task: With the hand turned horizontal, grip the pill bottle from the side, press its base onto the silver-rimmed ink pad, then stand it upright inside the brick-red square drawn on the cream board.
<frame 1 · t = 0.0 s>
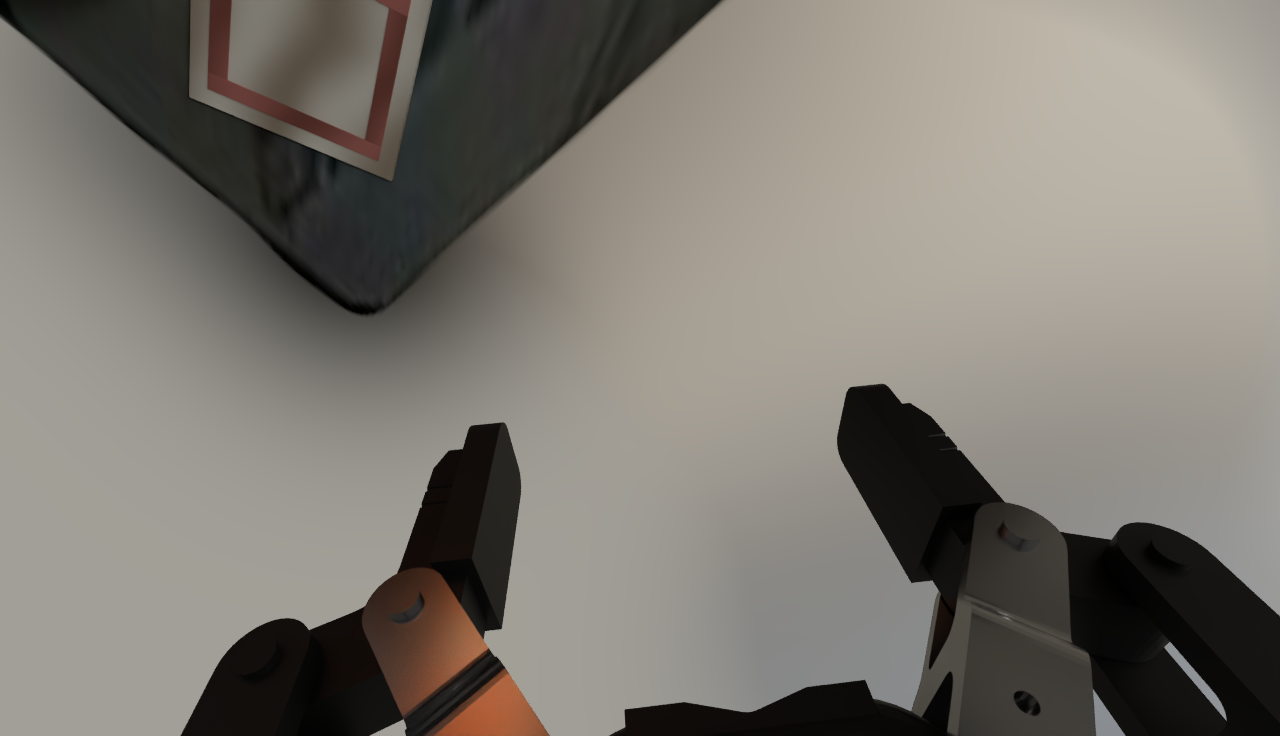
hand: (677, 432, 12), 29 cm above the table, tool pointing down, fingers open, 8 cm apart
marked board: (310, 44, 31), on the table
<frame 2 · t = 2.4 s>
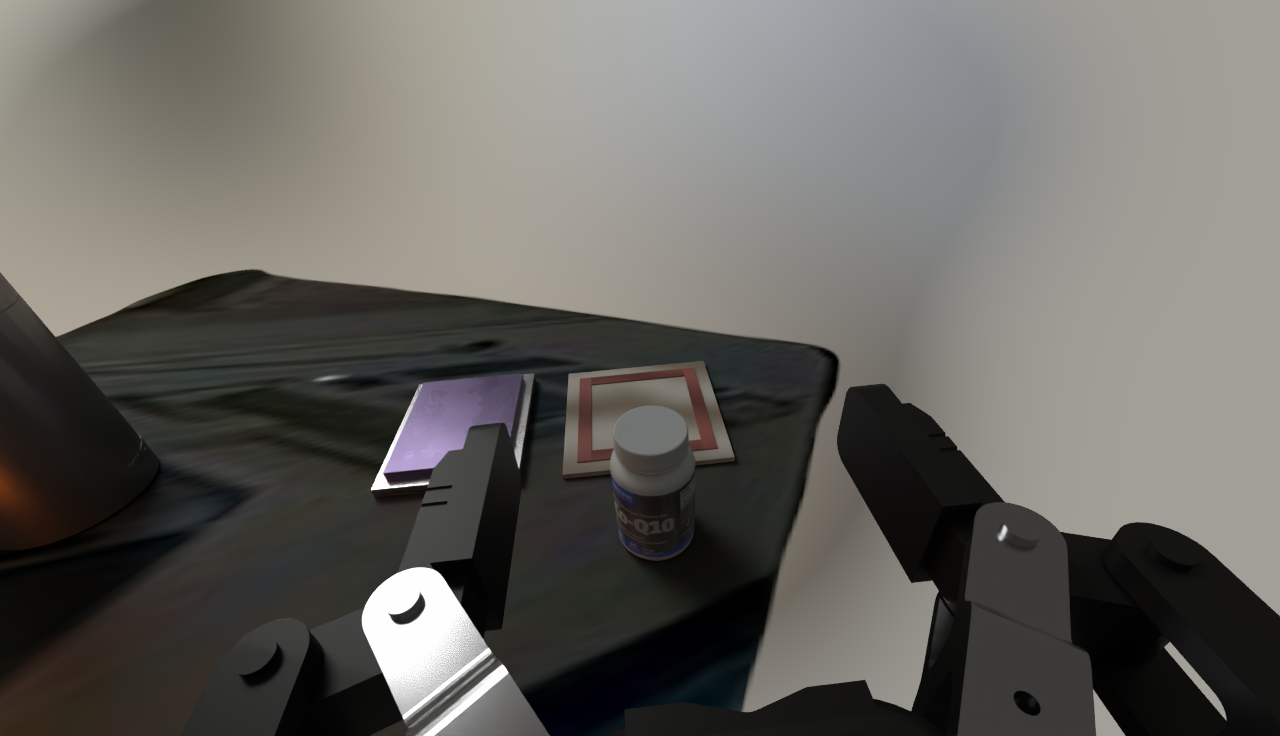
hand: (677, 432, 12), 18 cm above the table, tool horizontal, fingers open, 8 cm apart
marked board: (642, 414, 40), on the table
pill bottle: (656, 531, 32), on the table
ink pad: (465, 432, 40), on the table
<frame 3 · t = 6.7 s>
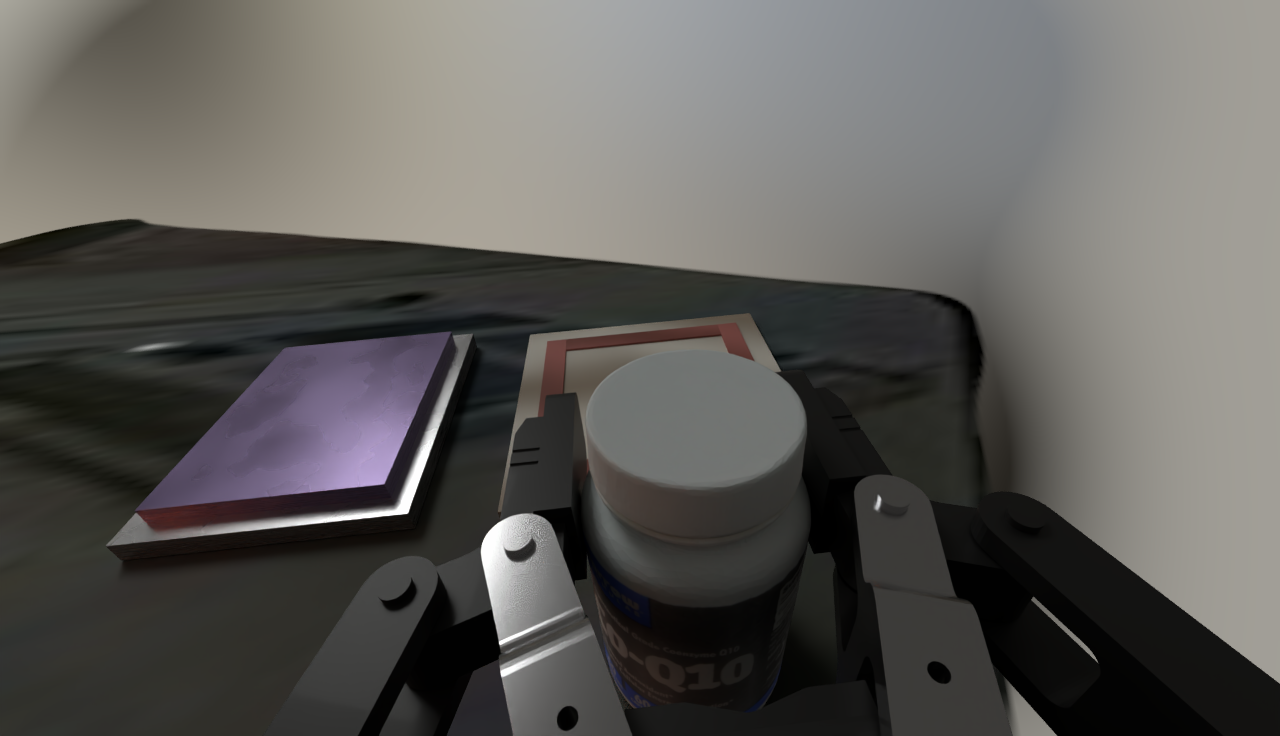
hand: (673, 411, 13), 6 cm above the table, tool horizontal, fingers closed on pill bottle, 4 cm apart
marked board: (652, 397, 23), on the table
pill bottle: (693, 646, 14), on the table, touching gripper
ink pad: (339, 429, 23), on the table
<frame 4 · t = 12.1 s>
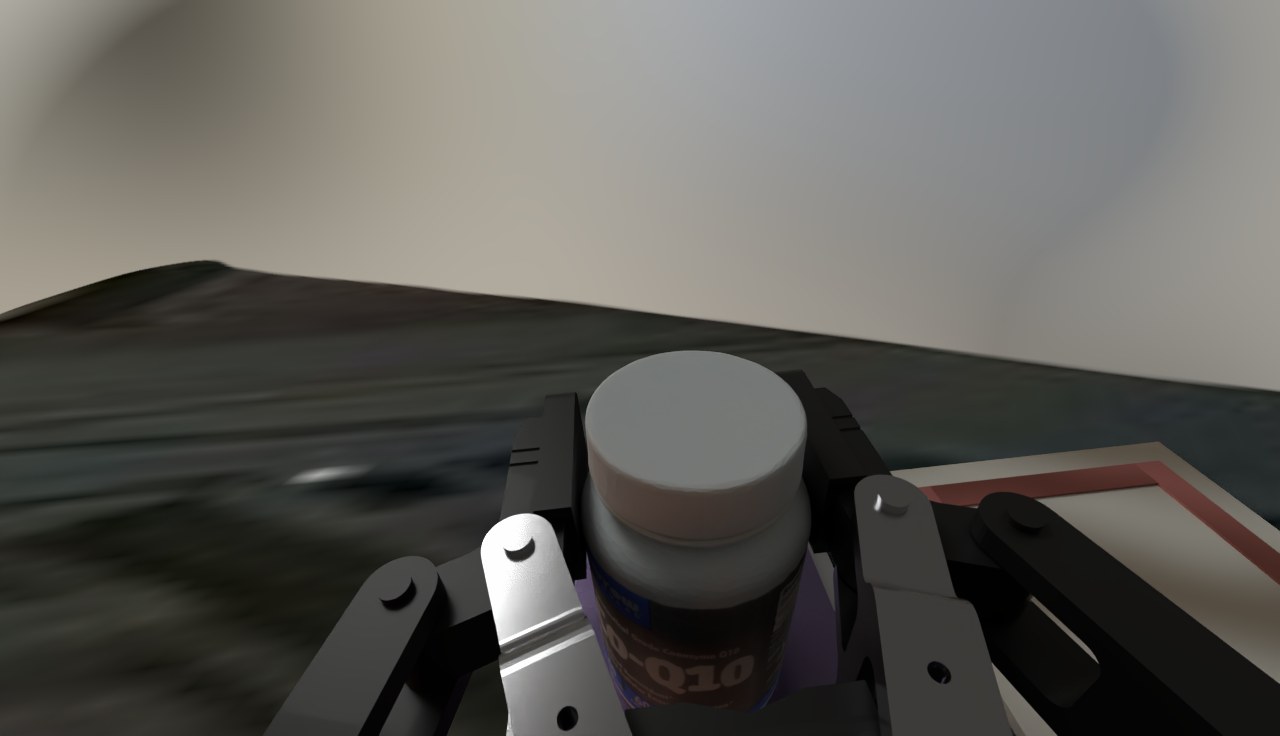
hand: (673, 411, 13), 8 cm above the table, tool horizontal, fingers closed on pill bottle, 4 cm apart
marked board: (1145, 607, 15), on the table
pill bottle: (693, 647, 14), point 1 cm above the table, touching gripper, ink pad
ink pad: (689, 662, 15), on the table
when the fingers open (7 cm above the table, at t = 17.7 s): pill bottle stays where it is, resting on marked board.
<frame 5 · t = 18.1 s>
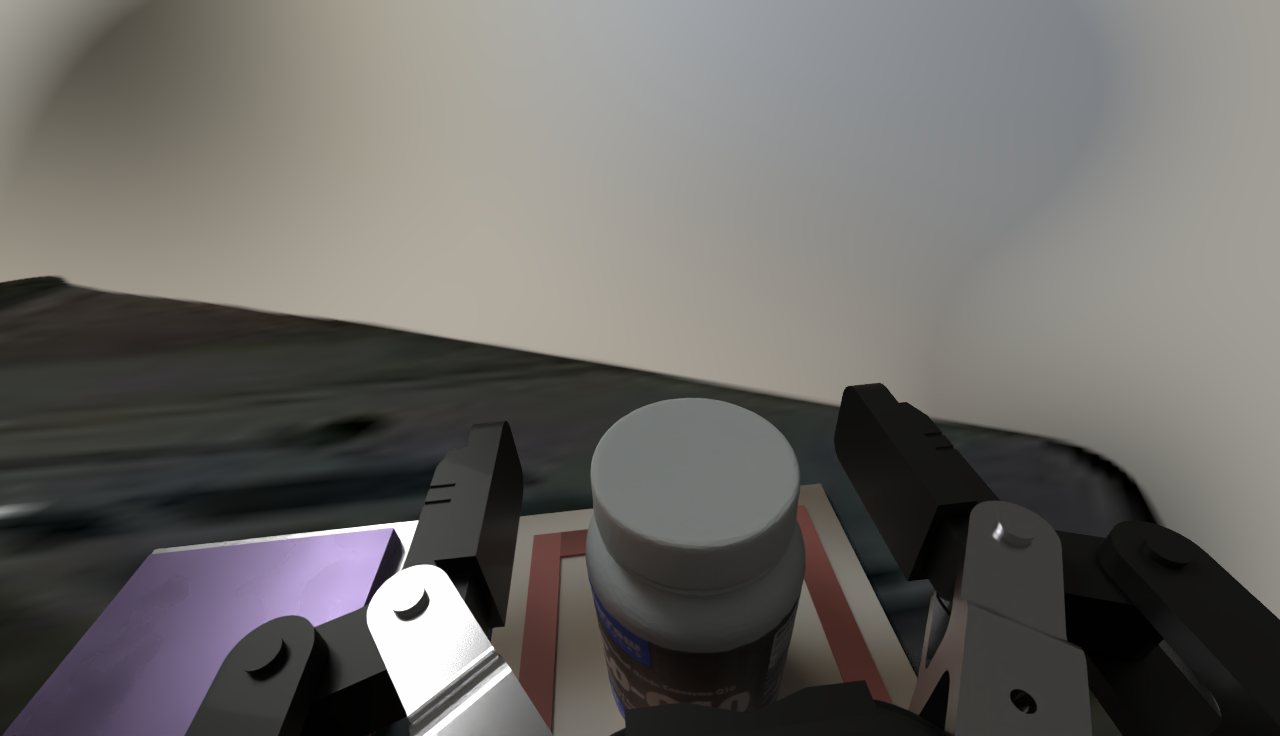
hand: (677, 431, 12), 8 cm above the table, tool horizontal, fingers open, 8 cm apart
marked board: (693, 669, 15), on the table
pill bottle: (693, 673, 15), resting on marked board
ink pad: (204, 728, 14), on the table
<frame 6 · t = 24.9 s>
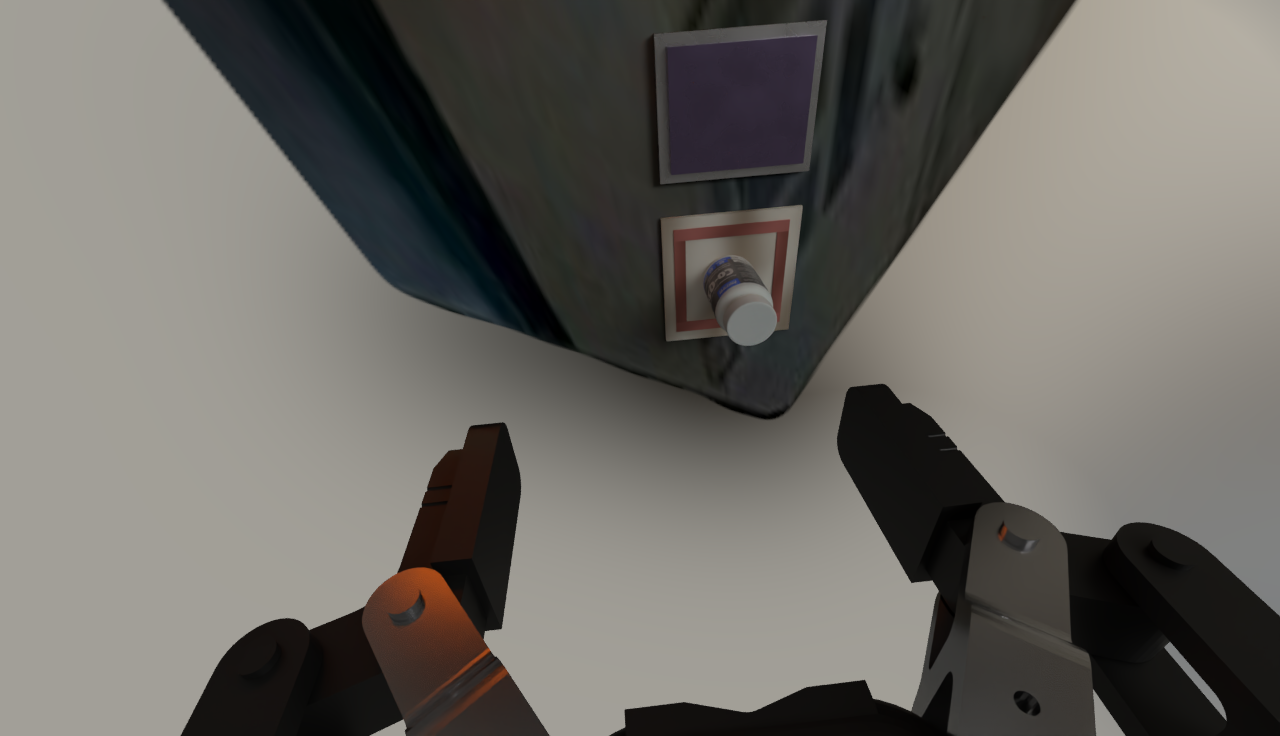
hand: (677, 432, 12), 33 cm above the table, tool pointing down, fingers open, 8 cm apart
marked board: (728, 276, 46), on the table
pill bottle: (727, 277, 46), resting on marked board
ink pad: (735, 106, 38), on the table
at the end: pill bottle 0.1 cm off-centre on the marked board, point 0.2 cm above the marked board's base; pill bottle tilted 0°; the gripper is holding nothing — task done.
